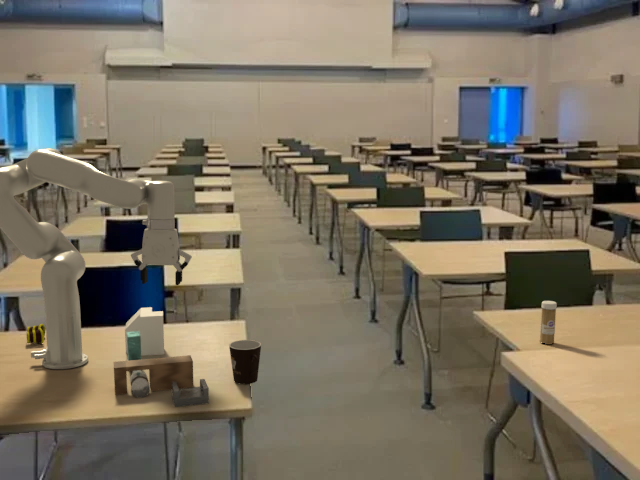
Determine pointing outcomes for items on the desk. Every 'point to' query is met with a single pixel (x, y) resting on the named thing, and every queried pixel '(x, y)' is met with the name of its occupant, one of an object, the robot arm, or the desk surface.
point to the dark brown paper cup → (245, 360)
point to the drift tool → (134, 346)
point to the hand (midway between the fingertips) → (161, 283)
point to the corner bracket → (148, 330)
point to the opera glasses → (36, 334)
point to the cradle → (190, 394)
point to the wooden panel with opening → (156, 372)
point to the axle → (139, 384)
